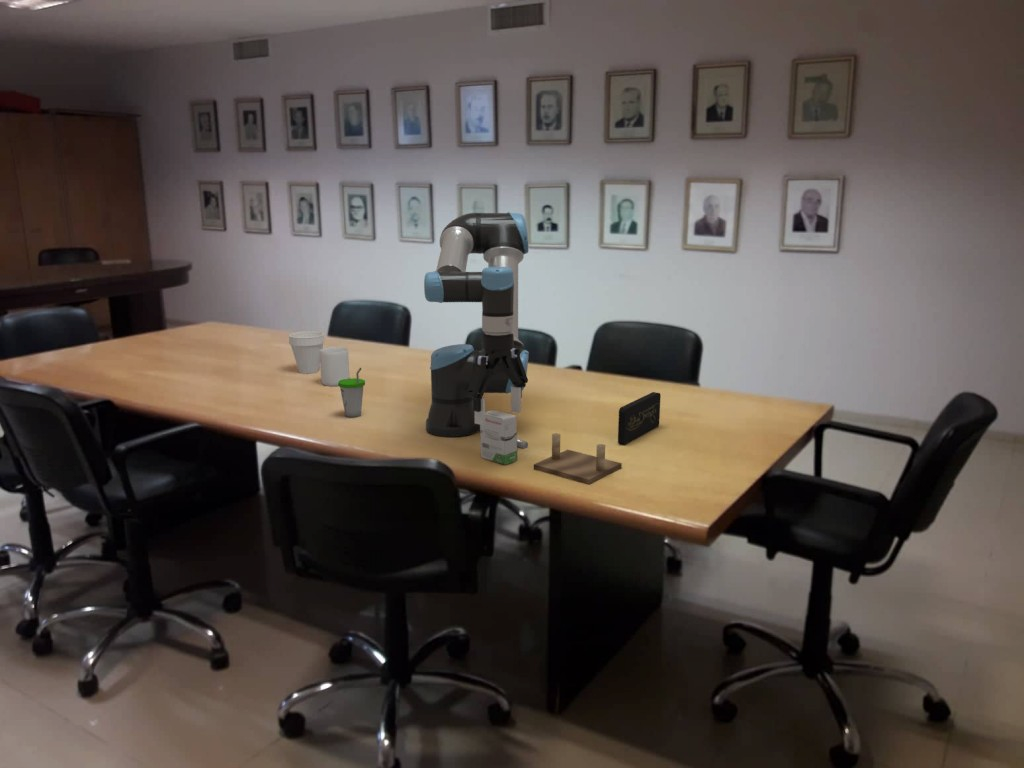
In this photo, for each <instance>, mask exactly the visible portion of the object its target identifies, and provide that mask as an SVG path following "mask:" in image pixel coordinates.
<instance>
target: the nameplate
mask: <svg viewBox="0 0 1024 768" xmlns="http://www.w3.org/2000/svg"><path fill="white" fill-rule="evenodd" d="M660 413H661V392H656V391H655V392H654V391H652V392H650V393H648V394H646V395H644V396H641V397H640V398H637V399H636V400H633V401H631V402H629V403H627V404H625V405H623V406H620V408H619V409H618V425H617V426H618V427H617V434H618V435H617V443H618V444H619V445H622V446H626V445H628V444H629V443H632V442H634V441H636V440H637V439H639V438H640V437H643V436H644V435H646V434H648V433H650V432H651V431H653V430H655V429H657V428H659V426H660V418H661V416H660V415H661V414H660Z"/></svg>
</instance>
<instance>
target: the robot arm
mask: <svg viewBox="0 0 1024 768" xmlns="http://www.w3.org/2000/svg"><path fill="white" fill-rule="evenodd" d="M527 229H528V228H527V222H526V219H525V216H524V215H523V214H521V213H518V212H517V213H515V212H510V211H508V212H506V213H505V212H470V213H465V214H462V215H460V216H458V217H456V218H455V219H453V220H452V221H450V222H449V223H447V225H446V226H445V227H444V228H443V230H442V231H441V233H440V237H439V246H440V247H439V248H440V253H439V256H438V257H439V258H438V261H437V266H436V270H435V271H434V270H433V271H427V272H426V273H425V275H424V279H423V281H424V283H423V286H424V287H423V288H424V289H423V290H424V298H425V300H426V301H427V302H430V303H439V304H442V303H481V306H482V308H481V309H482V311H481V312H482V313H481V331H483V333H482V335H481V336H482V340H481V342H482V343H481V350H474V346H473V345H472V344H470V343H467V344H466V343H460V344H452V345H446V346H442V347H439V348H436V349H435V350H433V351H432V353H431V355H430V366H429V370H430V383H431V385H430V386H431V404H430V407H429V409H428V416H427V418H426V421H425V430H426V432H427V433H429V434H430V435H434V436H438V437H447V438H448V437H451V438H453V437H465V436H469V435H474V434H476V433H477V432H479V431H480V425H485V412H486V397H484V395H485V394H506V395H507V394H510V412H511V413H515V414H516V413H517V414H521V413H522V397H523V390H524V389H525V387H527V386H526V385H527V384H528V381H529V379H528V376H527V375H528V372H527V371H528V365H529V364H528V363H529V351H528V350H526V349H524V343H523V342H522V341H521V340H520V339H519V264H520V263H521V262H522V261H523V260H524V257H525V256H524V255H526V254H528V253H529V238H528V230H527ZM469 254H483V256H482V257H483V260H484V261H485V262H486V263H487V264H488V265H487V267H484V268H483V269H482V271H467V266H468V265H467V264H468V259H469Z"/></svg>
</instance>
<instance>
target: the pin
mask: <svg viewBox="0 0 1024 768" xmlns="http://www.w3.org/2000/svg"><path fill="white" fill-rule="evenodd" d="M528 447H529V443H528V441H527V440H522V439H518V438H517V448H520V449H523V450H524V449H527V448H528Z"/></svg>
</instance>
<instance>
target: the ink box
mask: <svg viewBox="0 0 1024 768" xmlns="http://www.w3.org/2000/svg"><path fill="white" fill-rule="evenodd" d="M517 425H518V424H517V415H514V414H510V413H507V412H506V413H505V412H503V411H499V410H494V409H492V410H488V411H485V425H480V430H479V431H480V433H479V434H480V457H481V458H482V459H485V460H488V461H491V462H494V463H498V464H499V465H504V466H507V465H509V464H512V463H515V462H516V461H518V447H517V439H518V436H517V431H518V430H517V429H518V428H517Z"/></svg>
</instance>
